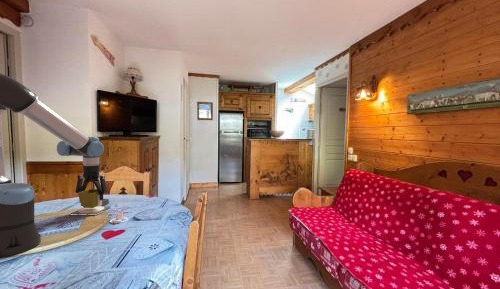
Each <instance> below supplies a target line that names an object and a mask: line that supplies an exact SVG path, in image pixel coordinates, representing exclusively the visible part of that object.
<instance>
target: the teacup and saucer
mask: <svg viewBox="0 0 500 289" xmlns="http://www.w3.org/2000/svg"><path fill="white" fill-rule="evenodd" d="M114 217H115V218H112V219H111V220H109V223H111V224H120V223H124V222H127V221H128V220H129V218H128V217H123V211H118V212H115V216H114ZM122 219H125V220H122Z"/></svg>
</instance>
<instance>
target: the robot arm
mask: <svg viewBox="0 0 500 289" xmlns="http://www.w3.org/2000/svg"><path fill="white" fill-rule="evenodd" d="M7 109H9V110H10V111H12V112H13V113H15V114H22V115H23V116H25V117H26V118H28V119H29V120H31V121H32V122H34V123H35V124H37V125H39V127H41V128H43V129H44V130H46V131H48V132H49V133H50V134H52V135H54V136H55V137H57V138H58V139H59V140H60V141H59V142H58V143H57V145H56V153H57V154H58V155H59V156H61V157H69V156H75V157H77V156H78V157H82V165H83V166H82V172H83V173H82V174H78V175H77V176H76V177H77V181H76V187H75V194H78V193H79V192H82V191H85V190H87V187H88V185H89V183H90V182H91V183H93V184H94V186H95V189H97V191H98V193H99V194H98V207H99V206H101V205H102V200H103V199H104V194H106V193H107V192H108V190H107V188H108V187H107V183H106V175H105V174H103V175H102V174H100V157H101V156H102V154H104V151H105V147H104V144H103V143H102V142H100V137H98V136H87V135H86V134H84V133H83V132H82V131H81V130H79V129H78V128H77V127H75V126H74V125H72V124H71V123H70V122H69V121H67V120H66V119H64V117H62V116H61V115H60V114H58V113H57V112H55V111H54V110H53V109H51V108H50V107H48V106H47V105H46V104H45V103H43V102H42V101H41V100H39V97H38V95H37V94H36V93H34V92H33V91H32V90H31V89H29V87H27V86H25V85H24V84H23V83H21V82H19V81H17V79H14V78H13V77H11V76H8V75H6V74H4V73H1V72H0V258H3V257H8V256H13V255H17V254H18V255H19V254H21V253H24V252H27V251H29V250H31V249H34V248H36V247H37V246H39V245H40V243H41V242H42V235H41V234H40V233H39V231H38V228H37V226H36V224H35V197H36V195H35V190H34V187H33V186H32V185H31V184H29V183H23V182H20V183H18V182H12V178H11V177H9V176H7V174H6V163H5V147H4V134H3V131H4V130H3V119H2V117H3V114H5V113H6V112H7V111H8V110H7ZM80 207H83V206H82V205H81V204H80Z"/></svg>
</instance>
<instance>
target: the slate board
mask: <svg viewBox="0 0 500 289" xmlns="http://www.w3.org/2000/svg"><path fill="white" fill-rule="evenodd" d="M109 209H111V205H110V206H109V205H105V206H99V207H98V206H96V207H94V208H84V207H82V208H81V209H77V210H75V211H74V212H71V213H70V215H71V214H97V213H99V212H101V211H104V212H106V211H107V210H109Z"/></svg>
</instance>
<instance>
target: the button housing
mask: <svg viewBox="0 0 500 289" xmlns="http://www.w3.org/2000/svg"><path fill="white" fill-rule="evenodd" d="M108 205H109V198H103V201H102V205H101V206H108Z"/></svg>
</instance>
